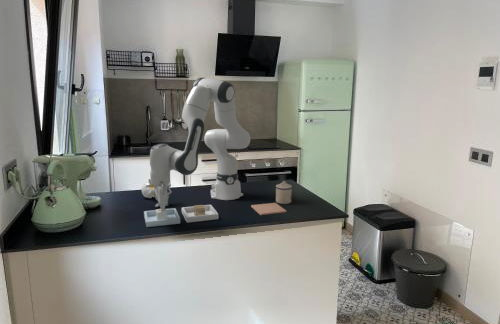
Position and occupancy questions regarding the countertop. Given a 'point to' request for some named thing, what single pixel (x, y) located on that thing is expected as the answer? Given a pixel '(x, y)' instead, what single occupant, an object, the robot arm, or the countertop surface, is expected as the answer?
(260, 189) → the countertop surface
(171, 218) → the blue grey tray
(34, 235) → the countertop surface
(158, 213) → the letter cube
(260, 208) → the terracotta tile
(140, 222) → the countertop surface
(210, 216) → the grey tray
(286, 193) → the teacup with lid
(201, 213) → the plain oak block
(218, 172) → the robot arm
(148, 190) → the flower vase
